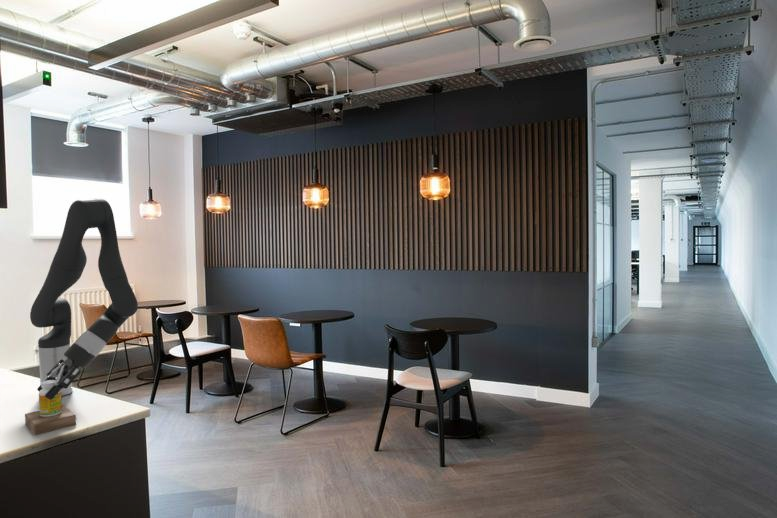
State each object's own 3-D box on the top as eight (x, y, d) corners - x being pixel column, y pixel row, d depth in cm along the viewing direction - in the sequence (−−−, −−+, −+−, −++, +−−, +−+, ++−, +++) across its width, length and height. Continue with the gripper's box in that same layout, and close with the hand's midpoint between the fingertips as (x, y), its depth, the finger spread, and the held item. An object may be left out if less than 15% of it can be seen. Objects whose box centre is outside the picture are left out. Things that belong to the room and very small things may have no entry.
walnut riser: (25, 423, 150) (24, 413, 150) (64, 414, 157) (63, 405, 157) (35, 435, 142) (35, 424, 141) (76, 424, 149) (75, 414, 149)
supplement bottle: (50, 418, 146) (49, 385, 145) (35, 416, 147) (33, 384, 147) (66, 411, 151) (64, 379, 151) (51, 410, 152) (49, 378, 152)
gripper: (68, 338, 158) (26, 383, 151) (82, 345, 148) (38, 393, 141) (88, 352, 162) (48, 396, 155) (103, 359, 153) (61, 407, 145)
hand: (43, 394), depth 148 cm, fingers open, 8 cm apart
